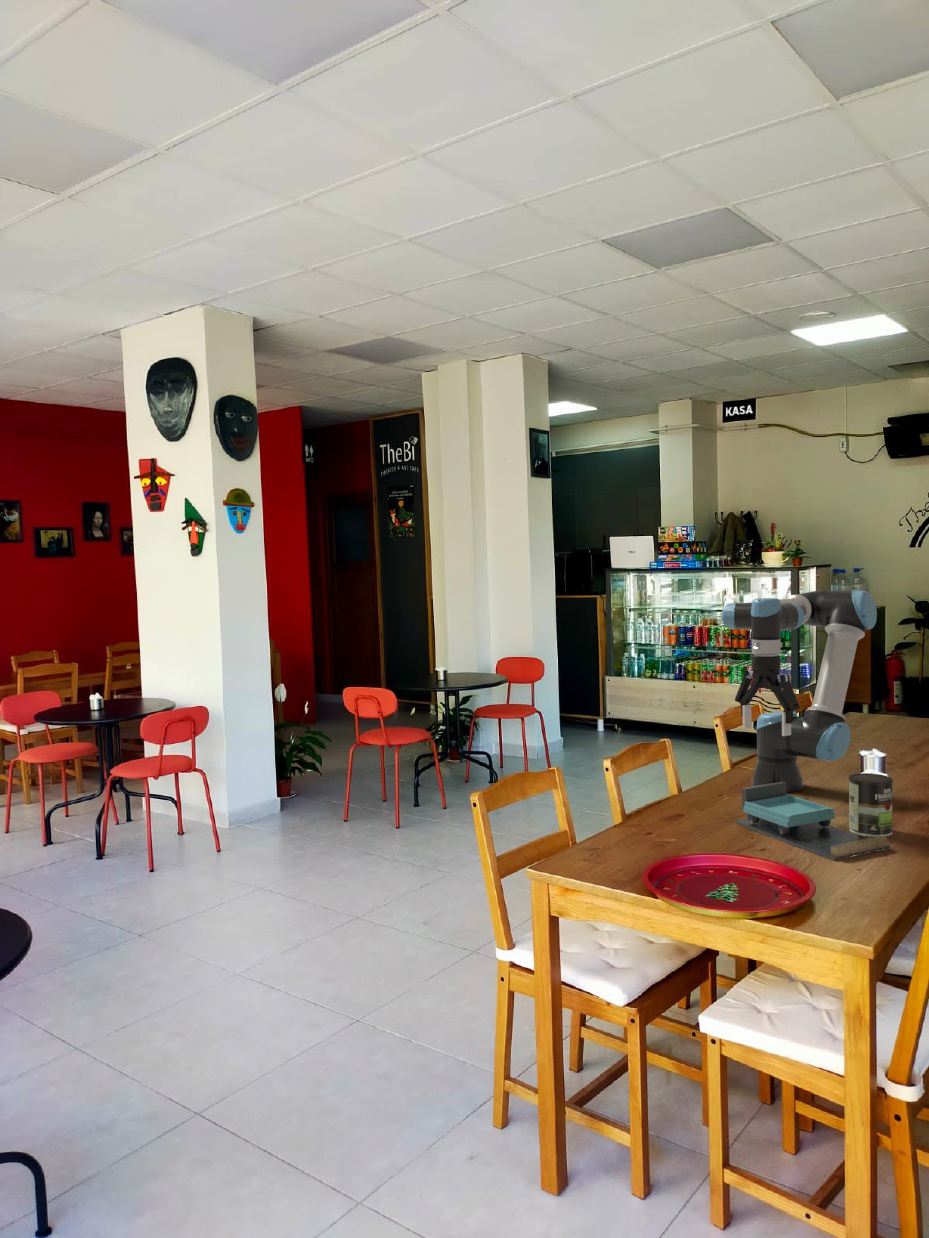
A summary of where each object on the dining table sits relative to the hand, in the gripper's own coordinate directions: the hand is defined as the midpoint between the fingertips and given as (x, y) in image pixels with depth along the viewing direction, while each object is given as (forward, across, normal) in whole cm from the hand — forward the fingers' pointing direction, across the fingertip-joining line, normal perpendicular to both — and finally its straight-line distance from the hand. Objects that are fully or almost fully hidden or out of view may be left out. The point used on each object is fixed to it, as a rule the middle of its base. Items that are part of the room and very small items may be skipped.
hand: (766, 731), depth 244 cm
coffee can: (+24, +25, +10) cm, 36 cm away
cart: (+22, +11, -5) cm, 25 cm away
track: (+23, +18, -6) cm, 30 cm away
